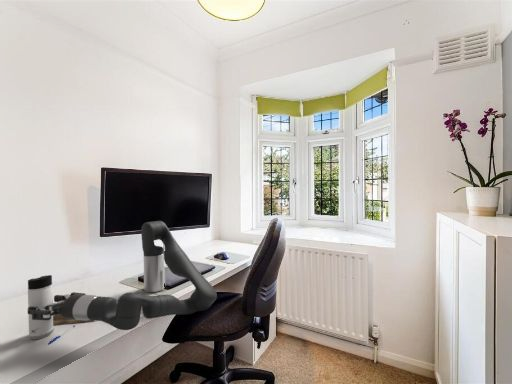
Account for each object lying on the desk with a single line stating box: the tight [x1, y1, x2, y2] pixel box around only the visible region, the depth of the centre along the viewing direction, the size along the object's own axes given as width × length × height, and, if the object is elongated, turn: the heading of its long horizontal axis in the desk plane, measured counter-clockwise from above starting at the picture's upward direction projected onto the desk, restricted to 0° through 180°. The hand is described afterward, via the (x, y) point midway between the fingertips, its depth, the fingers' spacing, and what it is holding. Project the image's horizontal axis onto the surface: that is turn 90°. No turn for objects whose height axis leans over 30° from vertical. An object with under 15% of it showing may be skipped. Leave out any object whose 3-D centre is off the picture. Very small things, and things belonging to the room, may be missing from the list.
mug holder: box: [53, 314, 95, 326], centre depth 98 cm, size 20×16×4 cm
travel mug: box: [27, 274, 54, 341], centre depth 84 cm, size 6×7×20 cm
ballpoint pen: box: [47, 325, 76, 346], centre depth 84 cm, size 10×1×1 cm, turn 178°
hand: (42, 303), depth 83 cm, fingers open, 8 cm apart
